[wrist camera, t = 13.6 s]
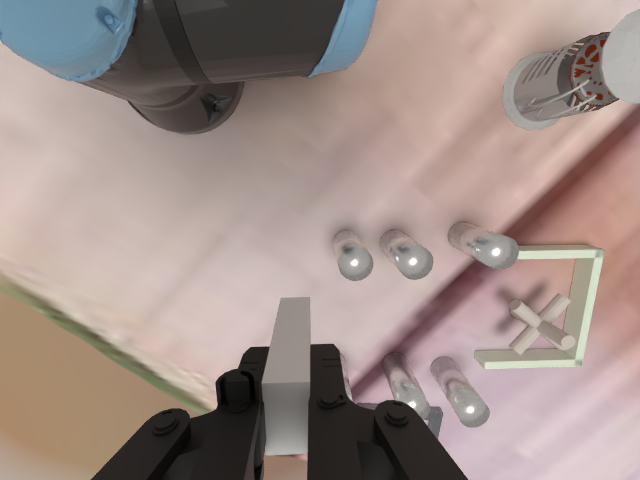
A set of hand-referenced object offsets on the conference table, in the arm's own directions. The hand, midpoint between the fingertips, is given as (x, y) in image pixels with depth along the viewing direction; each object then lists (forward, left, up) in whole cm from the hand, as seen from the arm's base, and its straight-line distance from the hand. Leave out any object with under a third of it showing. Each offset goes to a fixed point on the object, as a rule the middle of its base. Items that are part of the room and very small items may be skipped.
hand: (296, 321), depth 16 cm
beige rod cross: (+14, +33, -30) cm, 46 cm away
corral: (+13, +34, -29) cm, 47 cm away
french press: (-17, +31, -30) cm, 46 cm away
